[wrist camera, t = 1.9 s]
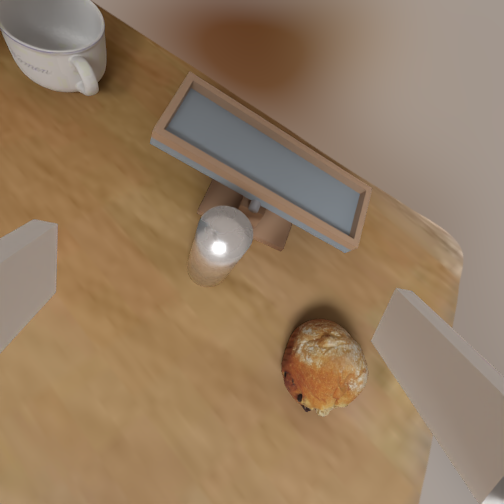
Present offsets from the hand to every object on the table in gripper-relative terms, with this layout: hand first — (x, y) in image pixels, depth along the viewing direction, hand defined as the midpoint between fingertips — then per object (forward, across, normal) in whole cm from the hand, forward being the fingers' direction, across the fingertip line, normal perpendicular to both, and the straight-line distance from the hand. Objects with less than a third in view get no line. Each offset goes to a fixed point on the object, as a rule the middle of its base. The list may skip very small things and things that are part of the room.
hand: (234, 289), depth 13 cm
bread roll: (+19, +15, -19) cm, 31 cm away
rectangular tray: (+28, +5, +1) cm, 29 cm away
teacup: (+39, -21, +5) cm, 45 cm away
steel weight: (+25, 0, -11) cm, 28 cm away
